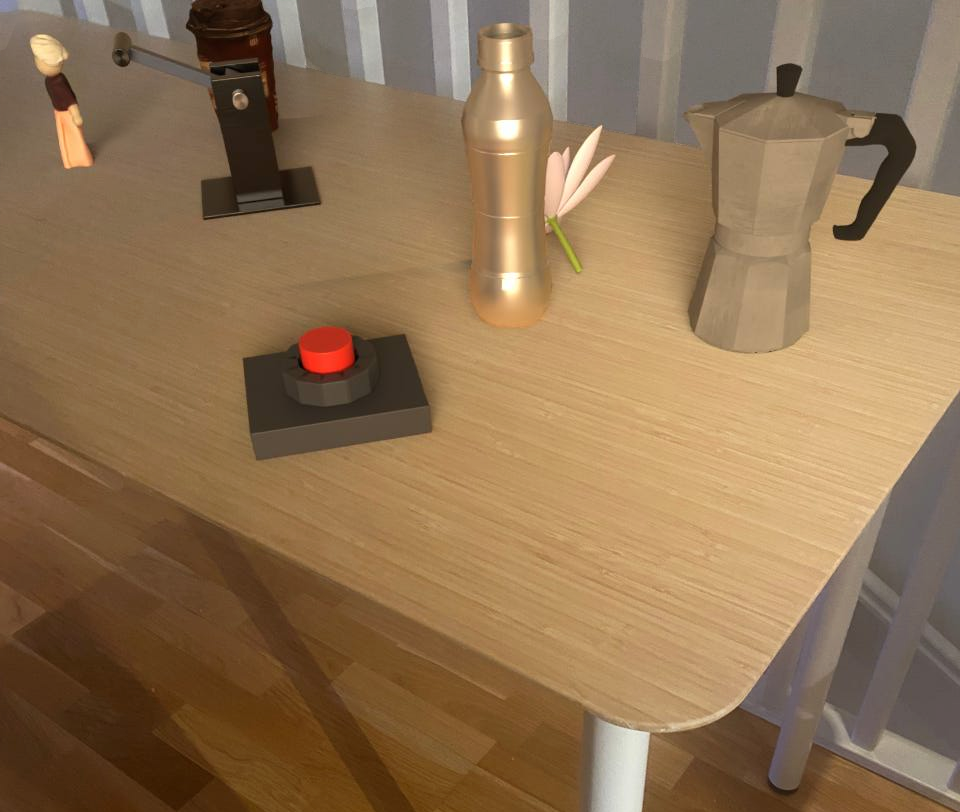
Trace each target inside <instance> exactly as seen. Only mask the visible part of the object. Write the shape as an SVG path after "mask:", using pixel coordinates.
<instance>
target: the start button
mask: <svg viewBox="0 0 960 812" xmlns="http://www.w3.org/2000/svg"><path fill="white" fill-rule="evenodd" d="M351 335H352V334H351V333H350V332H349V331H348V330H347V329H345V328H342V327H339V326H321V327H316V328H313V329H310V330H308V331H306V332H305V333H303V334H302V335H301V336H300V338H299V340H298V342H299V349H300V354H301V359H302V364H303V368H304V369H305V370H306V371H307V372H308V373H315V374H323V375H324V374H331V373H338V372H341V371H343V370H345V369H347V368H350V367H352V366H353V364H354V362H355V355H354V349H353V342H352V336H351Z"/></svg>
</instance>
